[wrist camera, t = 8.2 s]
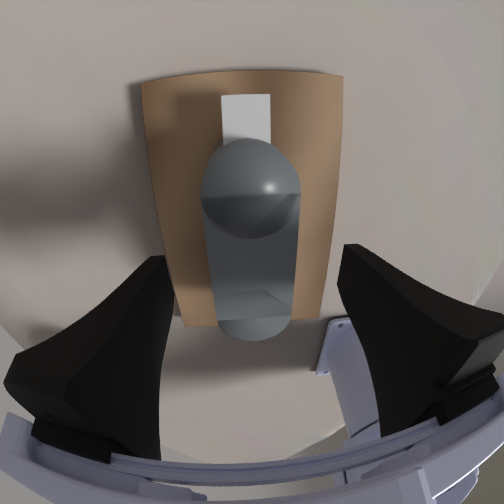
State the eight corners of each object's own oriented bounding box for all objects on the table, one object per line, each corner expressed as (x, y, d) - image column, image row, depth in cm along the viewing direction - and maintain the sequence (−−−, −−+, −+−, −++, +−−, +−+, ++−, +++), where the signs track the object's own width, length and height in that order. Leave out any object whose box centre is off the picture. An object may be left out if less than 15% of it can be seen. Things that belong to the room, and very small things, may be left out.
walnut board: (335, 76, 11) (343, 76, 10) (315, 307, 19) (318, 317, 19) (146, 83, 11) (140, 83, 10) (186, 317, 19) (184, 327, 18)
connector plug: (281, 95, 11) (303, 94, 7) (277, 289, 17) (288, 338, 13) (204, 97, 11) (192, 97, 7) (221, 292, 17) (220, 343, 13)
